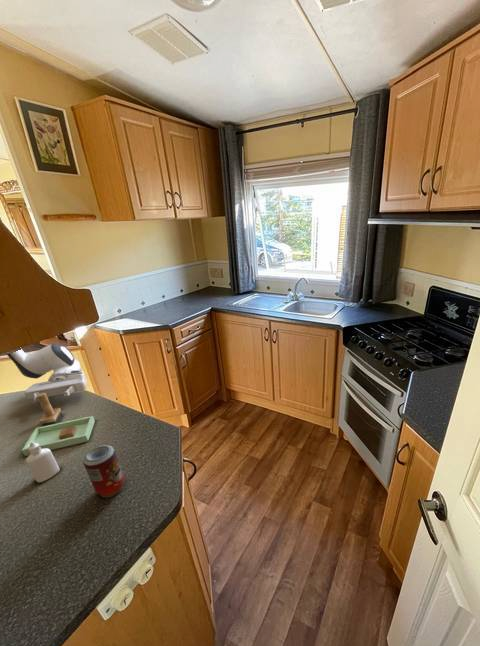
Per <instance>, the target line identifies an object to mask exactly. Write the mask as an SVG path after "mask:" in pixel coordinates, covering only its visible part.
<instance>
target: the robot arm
mask: <svg viewBox="0 0 480 646" xmlns="http://www.w3.org/2000/svg"><path fill="white" fill-rule="evenodd" d="M6 356H7V357H8V358H9V359H10V360H11V361H12V362H13V364H14V365H15V367H16V368H17V369H18V371H19V372H20V373H21V375H22V376H24V377H25V378H29V379H39V378H41V377H43V376H45V375H46V374H47V373H49V372H52V371H53V372H52V373H51V375H50V376H49V378H48V379H47V381H42V382H37V383H34V384H31V385H30V386H29V387H28V388H26V390H24V396H25V398H26V399H27V400H28V401H32V400H34V403H38V402H39V400H38V398H37V395H38V394H40V393H46V395H47V397H48V398H49V397H52V396H58V395H63V396H64V397H69V396H70V395H71V394H73V393H74V392H75V393H76V392H79V391H80V392H81V391H83V390H86V389H87V388H88V380H87V376H86V374H85V372H84V370H82V365H81V363H80V361H78V359H77V358H75V357H74V355H73V353H72V352H71V351H70V349H69V348H68V347H66V346H65V345H62V344H60V343H56V342H55V343H54V342H53V343H51V344H49V345H46V346H45V347H42V348H41V349H38V350H36V351H34V352H32V353H26V352H25V351H24V350H23V348H21V350H18V351H16V352H13V353H9V354H6Z"/></svg>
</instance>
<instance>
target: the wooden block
mask: <svg viewBox="0 0 480 646" xmlns="http://www.w3.org/2000/svg"><path fill="white" fill-rule="evenodd" d="M76 430H77V429H76V426H73V427H69V428H64V429H62V430H61V432H60V434H59V438H60V440H61V439H65V438H69V437H74V435H75V433H76Z"/></svg>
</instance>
